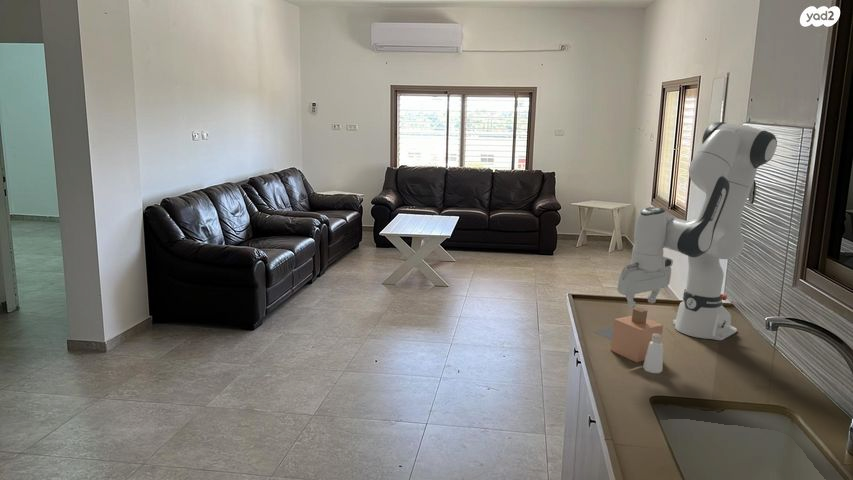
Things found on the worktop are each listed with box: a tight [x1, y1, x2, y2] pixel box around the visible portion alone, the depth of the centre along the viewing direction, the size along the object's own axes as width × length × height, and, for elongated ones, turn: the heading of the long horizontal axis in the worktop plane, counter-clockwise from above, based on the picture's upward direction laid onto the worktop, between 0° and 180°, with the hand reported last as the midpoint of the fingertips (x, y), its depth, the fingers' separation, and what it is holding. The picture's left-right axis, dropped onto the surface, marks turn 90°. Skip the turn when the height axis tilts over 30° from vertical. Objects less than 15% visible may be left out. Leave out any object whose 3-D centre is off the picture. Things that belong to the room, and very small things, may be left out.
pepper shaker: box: [642, 333, 664, 374], centre depth 186 cm, size 5×5×11 cm
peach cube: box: [610, 307, 664, 363], centre depth 196 cm, size 10×10×15 cm
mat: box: [594, 327, 613, 341], centre depth 212 cm, size 12×12×1 cm
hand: (641, 304), depth 194 cm, fingers open, 8 cm apart
